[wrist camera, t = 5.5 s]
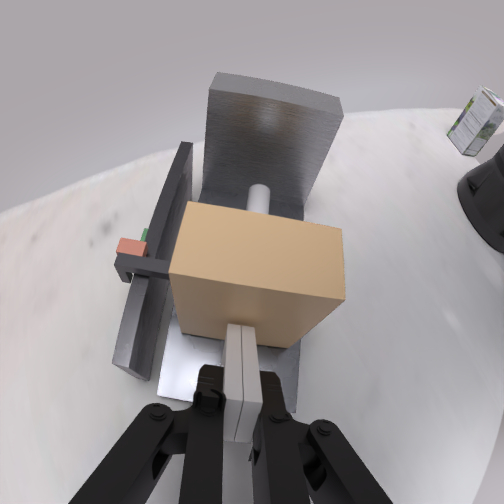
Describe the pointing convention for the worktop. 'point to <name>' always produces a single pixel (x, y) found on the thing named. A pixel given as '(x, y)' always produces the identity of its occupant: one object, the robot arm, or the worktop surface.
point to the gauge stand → (232, 196)
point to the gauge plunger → (248, 271)
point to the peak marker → (132, 247)
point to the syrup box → (477, 122)
